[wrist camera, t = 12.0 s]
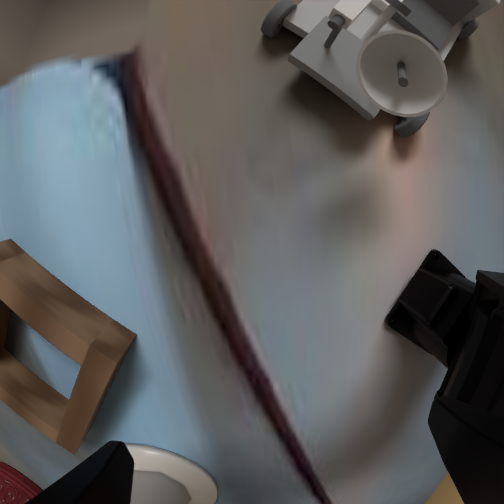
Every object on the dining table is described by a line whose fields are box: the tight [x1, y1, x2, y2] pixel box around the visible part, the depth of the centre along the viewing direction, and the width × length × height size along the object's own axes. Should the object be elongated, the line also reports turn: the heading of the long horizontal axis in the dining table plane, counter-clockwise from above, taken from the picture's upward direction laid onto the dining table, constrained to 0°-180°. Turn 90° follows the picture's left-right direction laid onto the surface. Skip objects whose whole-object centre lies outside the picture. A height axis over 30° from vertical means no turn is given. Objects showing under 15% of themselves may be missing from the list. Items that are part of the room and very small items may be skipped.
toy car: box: [261, 0, 500, 138], centre depth 12 cm, size 18×10×12 cm
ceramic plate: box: [125, 443, 217, 504], centre depth 23 cm, size 13×13×1 cm
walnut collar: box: [0, 239, 137, 455], centre depth 18 cm, size 13×13×4 cm
